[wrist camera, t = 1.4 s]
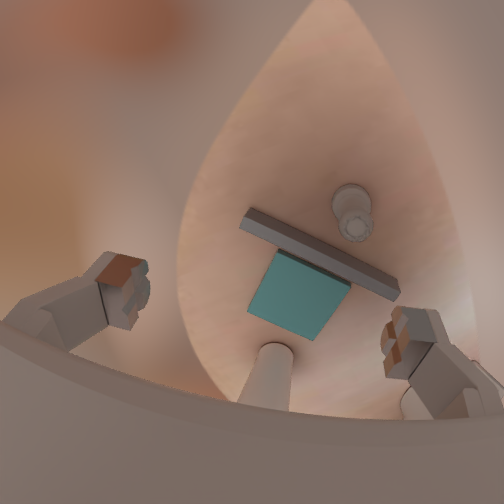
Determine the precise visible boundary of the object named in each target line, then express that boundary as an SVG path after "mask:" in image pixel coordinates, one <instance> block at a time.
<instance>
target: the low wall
mask: <svg viewBox="0 0 504 504" xmlns="http://www.w3.org/2000/svg"><path fill="white" fill-rule="evenodd" d="M239 228H240V229H243V230H245V231H247V232H249V233H251V234H253V235H255V236H258V237H260V238H262V239H264V240H266V241H268V242H270V243H272V244H275V245H277V246H279V247H281V248H283V249H285V250H287V251H289V252H291V253H294V254H296V255H298V256H300V257H302V258H304V259H306V260H308V261H310V262H312V263H315V264H317V265H319V266H321V267H323V268H325V269H327V270H329V271H331V272H333V273H335V274H337V275H339V276H342V277H344V278H346V279H348V280H350V281H352V282H354V283H356V284H358V285H360V286H362V287H364V288H366V289H368V290H370V291H372V292H374V293H376V294H379V295H381V296H383V297H385V298H387V299H389V300H391V301H393V302H394V301H395V300H396V299H397V297H398V296H399V295H400V293H401V291H400V288H399V285H398V281H397V279H395V278H393V277H391V276H389V275H387V274H385V273H383V272H382V271H380V270H378V269H376V268H374V267H372V266H370V265H368V264H366V263H364V262H362V261H360V260H358V259H356V258H354V257H352V256H350V255H348V254H346V253H344V252H342V251H340V250H338V249H336V248H334V247H332V246H330V245H328V244H326V243H324V242H322V241H320V240H318V239H316V238H313V237H311V236H309V235H307V234H305V233H303V232H301V231H299V230H297V229H295V228H293V227H291V226H289V225H286V224H284V223H282V222H280V221H278V220H276V219H274V218H272V217H269V216H267V215H265V214H263V213H261V212H259V211H257V210H254V209H252V208H250V209H249V210H248V211H247V213H246V214H245V216H244V217H243V220H242V222H241V225H240V227H239Z"/></svg>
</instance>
